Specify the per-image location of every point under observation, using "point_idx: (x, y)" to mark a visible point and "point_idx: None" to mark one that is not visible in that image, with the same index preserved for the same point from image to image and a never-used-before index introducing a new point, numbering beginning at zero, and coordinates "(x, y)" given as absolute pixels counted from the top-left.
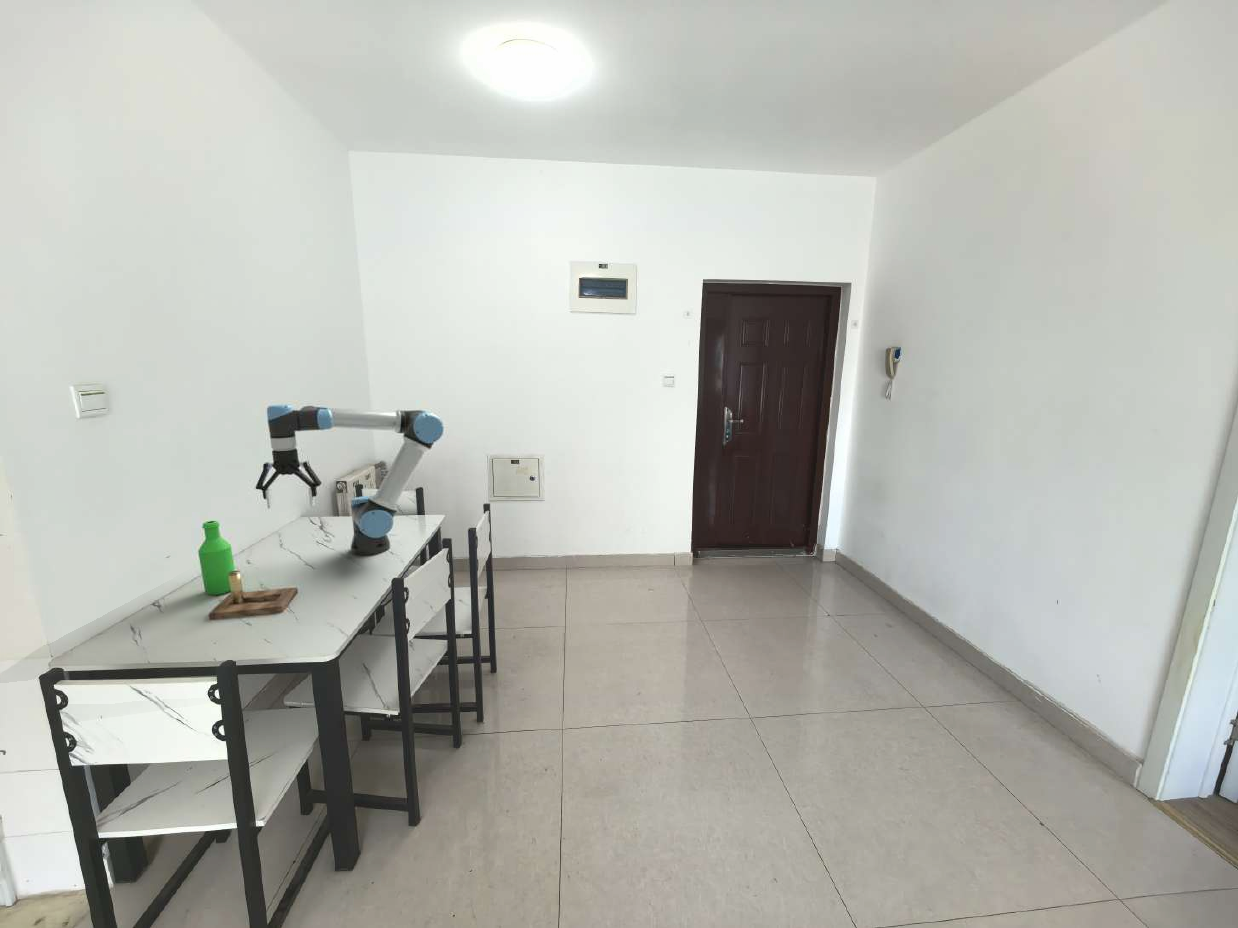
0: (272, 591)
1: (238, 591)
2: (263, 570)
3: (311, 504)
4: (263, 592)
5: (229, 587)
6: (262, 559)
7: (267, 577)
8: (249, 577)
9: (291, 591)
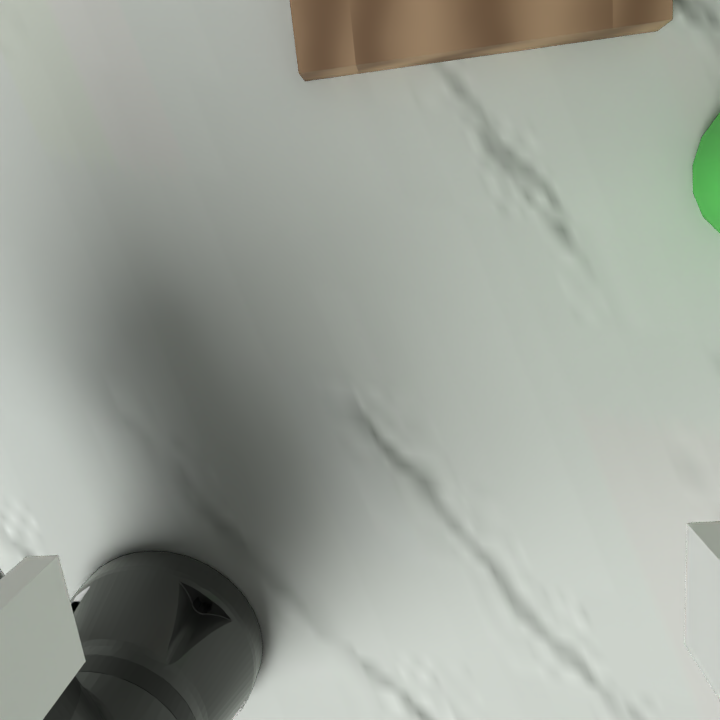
0: (420, 23)
1: None
2: (635, 431)
3: (22, 571)
4: (468, 12)
5: (716, 125)
6: None
7: (570, 326)
8: (676, 341)
9: (305, 10)
